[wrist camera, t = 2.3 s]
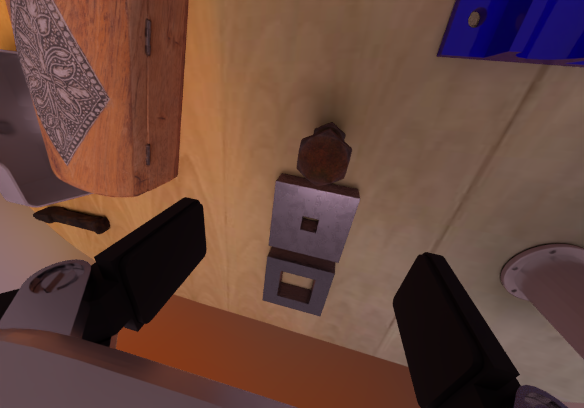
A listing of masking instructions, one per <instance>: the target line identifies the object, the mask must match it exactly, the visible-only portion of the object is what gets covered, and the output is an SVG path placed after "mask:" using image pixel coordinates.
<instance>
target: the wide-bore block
mask: <svg viewBox="0 0 584 408" xmlns="http://www.w3.org/2000/svg"><path fill="white" fill-rule="evenodd" d="M283 272H287V273H291V274H295V275H299V276H302V277H306V278H310V279H314V281H313V284H312V288H311V290H309V289H305V288H301V287H298V286H294V285H290V284H287V283H283V282H281V280H282V274H283ZM334 275H335V262H333V261H329V260H325V259H321V258H317V257H313V256H309V255H305V254H301V253H297V252H293V251H289V250H285V249H281V248H277V247H273V246H272V247H271V250H270V252H269V254H268V256H267V265H266V274H265V283H264V291H263V300H264V301H267V302H271V303H274V304H278V305H281V306H285V307H289V308H292V309H296V310H299V311H303V312H306V313H310V314H314V315H317V316H321V313H322V310H323V307H324V304H325V301H326V298H327V295H328V292H329V289H330V286H331V283H332V280H333V277H334Z"/></svg>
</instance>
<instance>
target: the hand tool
mask: <svg viewBox="0 0 584 408" xmlns="http://www.w3.org/2000/svg"><path fill="white" fill-rule="evenodd" d="M33 217H35V218H36V219H38V220H41V221H44V222H46V223H53V222H59V223H63V224H67V225H71V226H75V227H79V228H82V229H87V230H90V231H94V232H96V233H97V234H102V233H104V232H105V231H107V230H108V229H109V227H110V224H109V221H108V219H107V218H105V217H104V218H102V217H93V216H88V215H84V214H82V213H77V212H72V211H67V210H66V209H65V208H64V207H48V208H45V209H42V210H40V211H37V212H36V213H34V214H33Z"/></svg>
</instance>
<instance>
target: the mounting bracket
mask: <svg viewBox="0 0 584 408" xmlns="http://www.w3.org/2000/svg"><path fill="white" fill-rule="evenodd" d="M472 12H478V13H479V15H480V20H479V23H478V25H477V26H476V27H475V28H472V27H470V26H469V24H468V18H469V16H470V14H471V13H472ZM437 57H449V58H463V59H476V60H490V61H504V62H518V63H531V64H545V65H559V66H573V67H584V0H456V2H455V4H454V7H453V10H452V13H451V16H450V19H449V22H448V25H447V28H446V30H445V33H444V36H443V39H442V42H441V45H440V48H439V51H438V54H437Z"/></svg>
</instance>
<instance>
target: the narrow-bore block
mask: <svg viewBox="0 0 584 408" xmlns="http://www.w3.org/2000/svg"><path fill="white" fill-rule="evenodd" d="M359 201H360V195H359V190H358V189H355V188H350V187H345V186H341V185H336V184H331V183H330V184H326V185H320V186H317V185H315V184H313V183H312V182H310V181H309V180H308V179H307V178H302V177H298V176H293V175H288V174H283V173H282V174H281V175H280V176H279V178H278V179H277V180H276V185H275V194H274V203H273V212H272V221H271V229H270V238H269V246H273V247H277V248H281V249H285V250H289V251H293V252H297V253H301V254H305V255H309V256H313V257H317V258H321V259H325V260H329V261H333V262H337V263H339V260H340V257H341V254H342V251H343V248H344V245H345V242H346V239H347V236H348V233H349V230H350V228H351V225H352V222H353V219H354V216H355V213H356V210H357V207H358V204H359ZM304 216H305V217H310V218H314V219H318V222H317V221H312V220H308V219H304V218H303V217H304Z"/></svg>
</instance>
